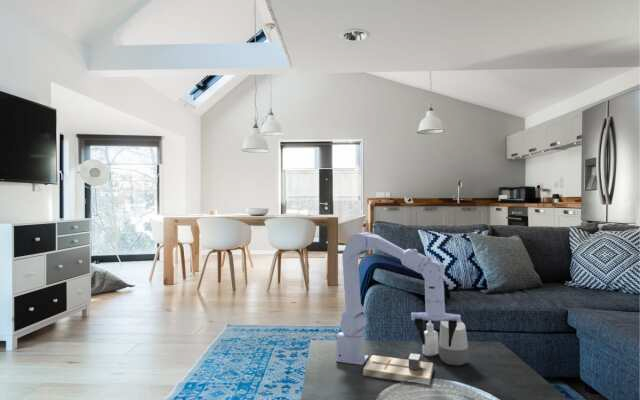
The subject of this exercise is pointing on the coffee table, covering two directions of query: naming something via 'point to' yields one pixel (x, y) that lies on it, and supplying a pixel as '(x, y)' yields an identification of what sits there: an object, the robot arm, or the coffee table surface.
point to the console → (396, 369)
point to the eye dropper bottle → (430, 341)
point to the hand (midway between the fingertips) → (436, 344)
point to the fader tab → (414, 361)
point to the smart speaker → (453, 345)
